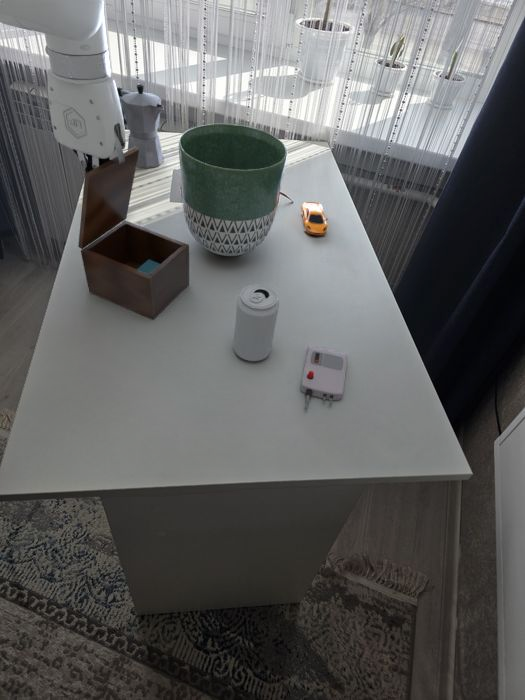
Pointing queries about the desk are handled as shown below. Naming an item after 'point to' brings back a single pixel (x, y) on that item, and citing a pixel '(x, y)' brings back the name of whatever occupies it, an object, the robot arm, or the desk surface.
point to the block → (148, 267)
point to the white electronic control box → (324, 374)
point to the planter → (230, 185)
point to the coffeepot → (142, 124)
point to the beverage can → (255, 322)
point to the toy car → (314, 218)
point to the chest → (128, 255)
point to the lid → (106, 197)
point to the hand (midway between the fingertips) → (99, 190)
